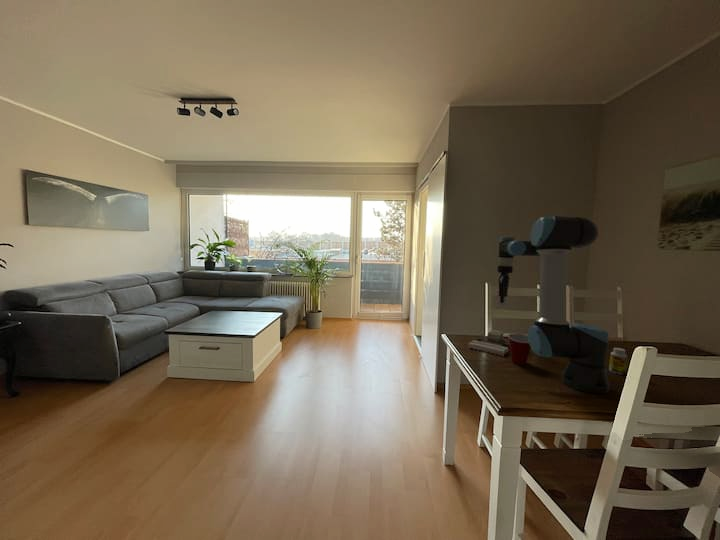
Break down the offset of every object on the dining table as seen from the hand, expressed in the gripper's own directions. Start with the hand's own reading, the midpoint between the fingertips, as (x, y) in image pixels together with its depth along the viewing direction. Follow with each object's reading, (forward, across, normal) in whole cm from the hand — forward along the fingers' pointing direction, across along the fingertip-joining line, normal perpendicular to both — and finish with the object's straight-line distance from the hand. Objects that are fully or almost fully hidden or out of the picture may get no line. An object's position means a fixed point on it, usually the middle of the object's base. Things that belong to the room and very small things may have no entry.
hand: (502, 308), depth 177 cm
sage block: (+16, +9, 0) cm, 18 cm away
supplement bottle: (+19, +11, +51) cm, 55 cm away
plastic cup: (+19, +29, +16) cm, 38 cm away
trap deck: (+18, +15, 0) cm, 24 cm away
